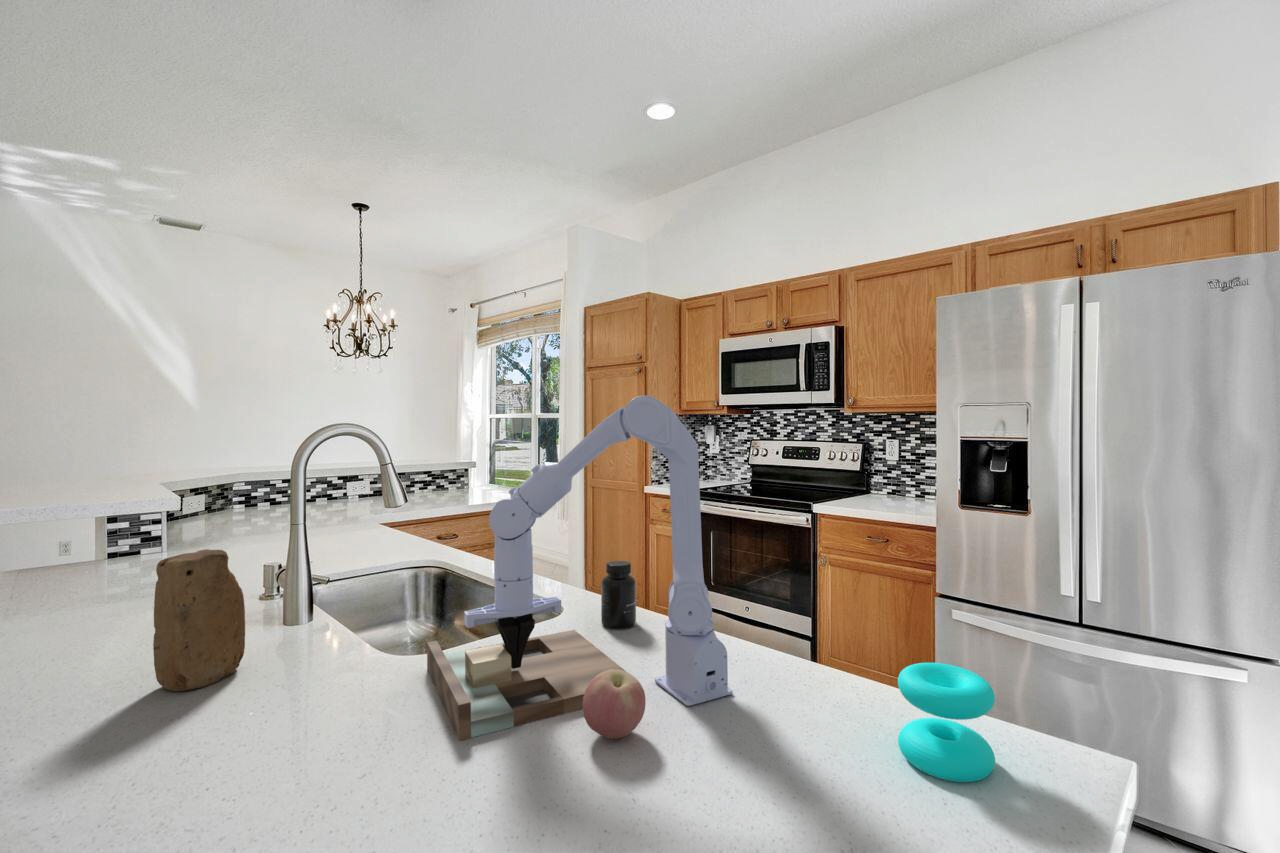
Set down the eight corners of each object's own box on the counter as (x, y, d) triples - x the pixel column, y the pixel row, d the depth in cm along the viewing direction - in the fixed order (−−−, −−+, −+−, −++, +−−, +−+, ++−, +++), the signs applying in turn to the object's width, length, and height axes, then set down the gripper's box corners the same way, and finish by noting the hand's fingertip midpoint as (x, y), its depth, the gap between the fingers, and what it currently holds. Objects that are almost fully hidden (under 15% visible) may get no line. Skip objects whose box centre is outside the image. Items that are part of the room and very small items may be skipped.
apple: (589, 757, 71) (588, 690, 71) (578, 725, 78) (577, 665, 78) (652, 746, 73) (652, 681, 73) (636, 717, 80) (636, 657, 80)
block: (176, 698, 87) (173, 562, 87) (149, 689, 90) (146, 557, 90) (252, 670, 97) (250, 547, 97) (225, 662, 100) (223, 543, 100)
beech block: (511, 680, 88) (511, 656, 88) (473, 688, 85) (473, 664, 85) (501, 666, 92) (501, 644, 92) (465, 674, 90) (464, 651, 90)
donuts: (1005, 675, 69) (978, 704, 62) (1006, 761, 69) (979, 800, 62) (916, 652, 76) (883, 676, 69) (917, 730, 76) (884, 761, 69)
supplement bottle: (635, 630, 114) (635, 567, 114) (600, 630, 114) (599, 567, 114) (636, 618, 121) (636, 558, 120) (603, 618, 121) (602, 559, 121)
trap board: (638, 694, 87) (637, 663, 87) (459, 740, 75) (458, 705, 75) (574, 640, 108) (574, 616, 108) (427, 669, 96) (426, 642, 96)
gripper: (550, 565, 98) (551, 647, 98) (459, 576, 91) (460, 665, 91) (566, 574, 91) (566, 663, 91) (469, 588, 84) (470, 683, 85)
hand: (514, 665), depth 91 cm, fingers closed
